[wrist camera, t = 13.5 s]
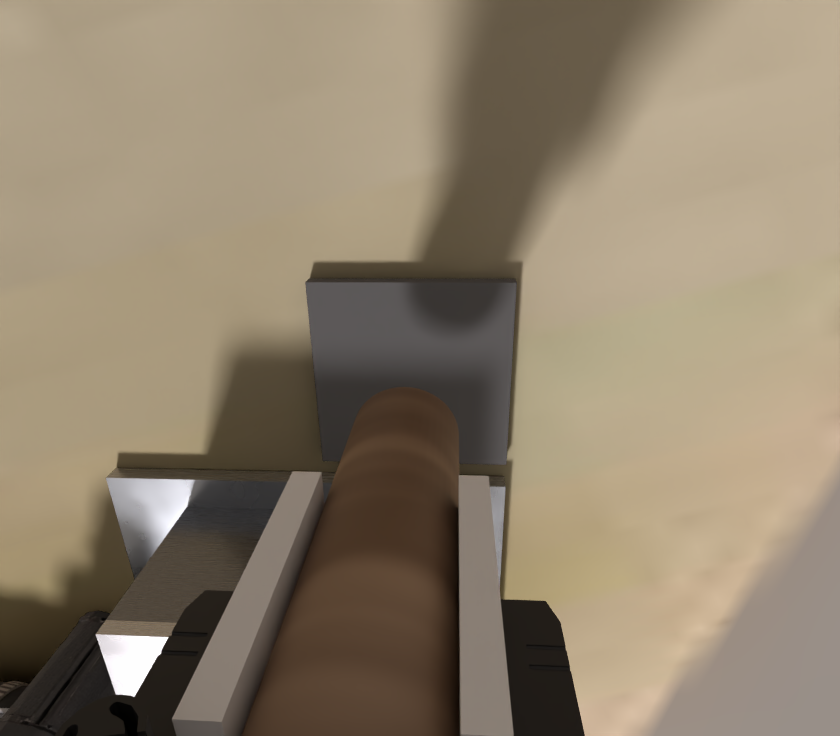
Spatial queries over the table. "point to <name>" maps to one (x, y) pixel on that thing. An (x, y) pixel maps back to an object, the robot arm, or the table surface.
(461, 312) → the rubber mat
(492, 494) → the box
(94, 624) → the camera
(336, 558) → the walnut dowel
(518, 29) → the table surface
